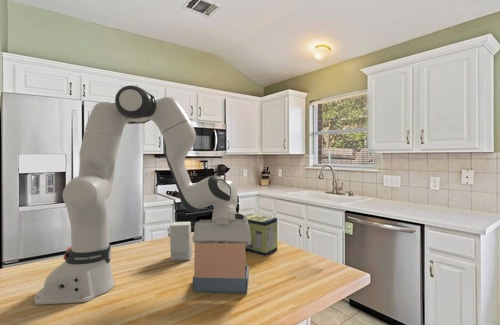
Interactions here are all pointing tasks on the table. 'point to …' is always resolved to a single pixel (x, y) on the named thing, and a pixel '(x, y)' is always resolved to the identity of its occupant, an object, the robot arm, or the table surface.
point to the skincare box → (180, 241)
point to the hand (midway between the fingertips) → (220, 256)
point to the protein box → (262, 234)
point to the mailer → (221, 284)
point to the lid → (219, 260)
